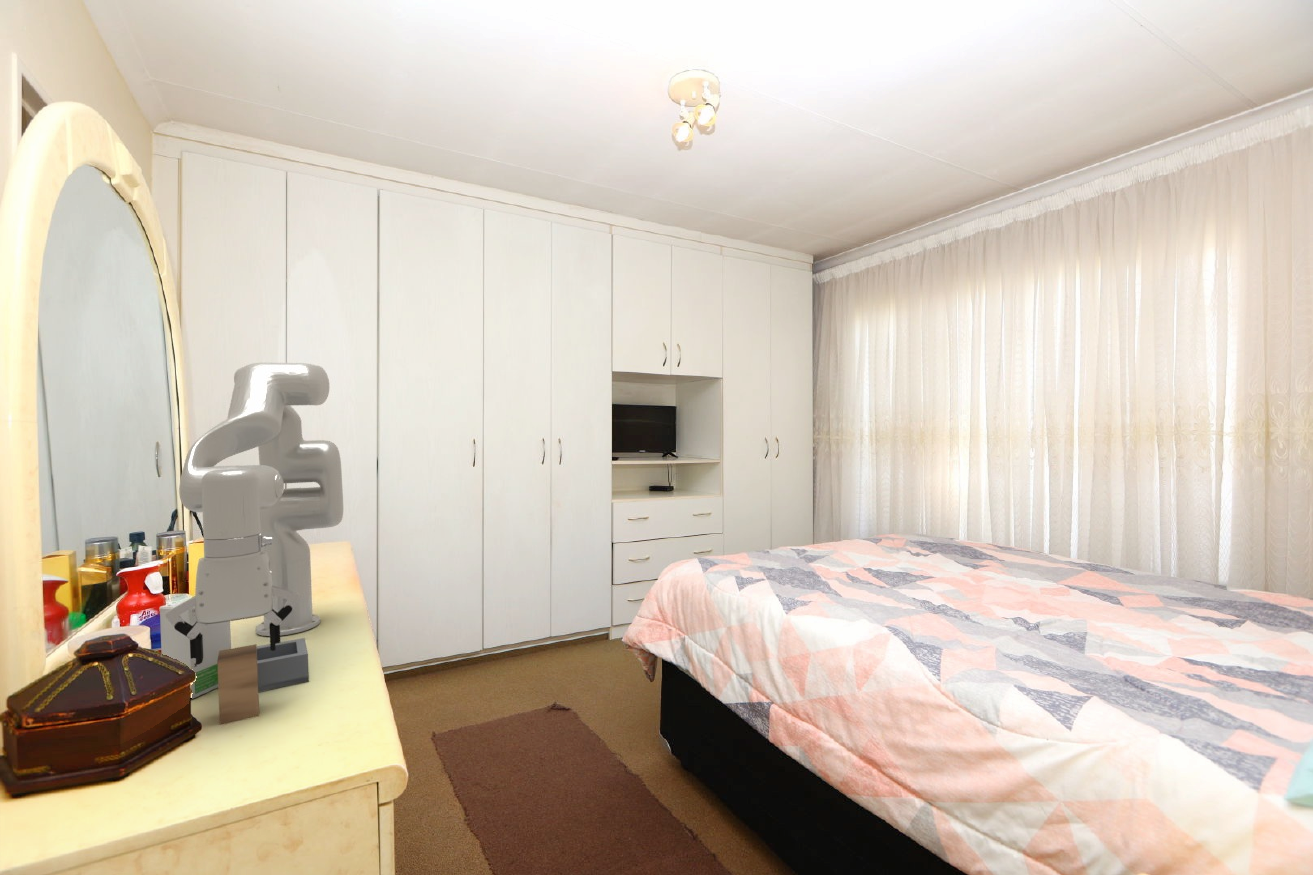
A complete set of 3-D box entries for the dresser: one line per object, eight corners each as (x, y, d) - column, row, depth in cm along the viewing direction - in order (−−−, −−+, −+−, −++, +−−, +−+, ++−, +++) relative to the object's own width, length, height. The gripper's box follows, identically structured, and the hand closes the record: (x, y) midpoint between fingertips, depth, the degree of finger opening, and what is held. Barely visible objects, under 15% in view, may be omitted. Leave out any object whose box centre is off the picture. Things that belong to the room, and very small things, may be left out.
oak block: (221, 712, 99) (219, 650, 99) (258, 704, 102) (256, 644, 102) (219, 724, 95) (217, 660, 95) (258, 716, 98) (256, 653, 97)
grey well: (243, 675, 114) (242, 648, 113) (305, 663, 119) (304, 637, 119) (241, 695, 105) (240, 666, 105) (308, 681, 110) (307, 653, 110)
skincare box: (191, 700, 104) (187, 608, 103) (159, 698, 105) (155, 607, 105) (235, 679, 112) (231, 594, 111) (204, 677, 113) (201, 593, 113)
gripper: (295, 537, 105) (299, 637, 106) (167, 550, 96) (171, 659, 96) (297, 544, 99) (301, 650, 99) (160, 558, 90) (164, 675, 90)
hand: (237, 654), depth 98 cm, fingers open, 9 cm apart
